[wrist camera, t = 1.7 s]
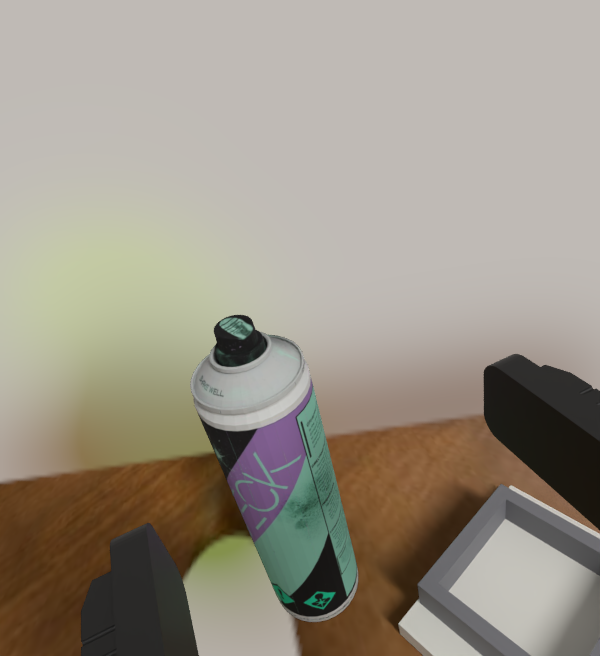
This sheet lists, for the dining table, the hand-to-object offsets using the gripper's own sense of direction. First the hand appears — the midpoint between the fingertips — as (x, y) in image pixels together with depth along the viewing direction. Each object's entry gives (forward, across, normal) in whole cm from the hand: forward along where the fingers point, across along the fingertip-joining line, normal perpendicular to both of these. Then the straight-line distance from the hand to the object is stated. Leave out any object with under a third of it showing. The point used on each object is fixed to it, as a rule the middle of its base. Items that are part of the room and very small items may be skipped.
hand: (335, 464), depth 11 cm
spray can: (+11, 0, +22) cm, 25 cm away
